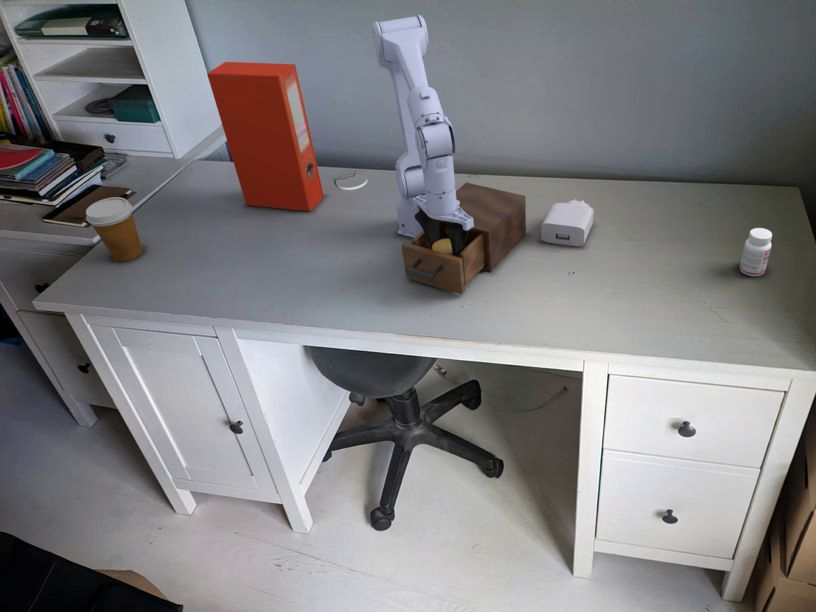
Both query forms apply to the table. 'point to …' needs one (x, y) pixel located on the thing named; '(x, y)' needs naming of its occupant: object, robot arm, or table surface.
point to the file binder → (267, 134)
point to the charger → (567, 223)
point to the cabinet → (494, 219)
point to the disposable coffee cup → (115, 227)
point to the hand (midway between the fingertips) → (446, 248)
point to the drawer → (444, 261)
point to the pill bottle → (756, 252)
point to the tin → (443, 246)
